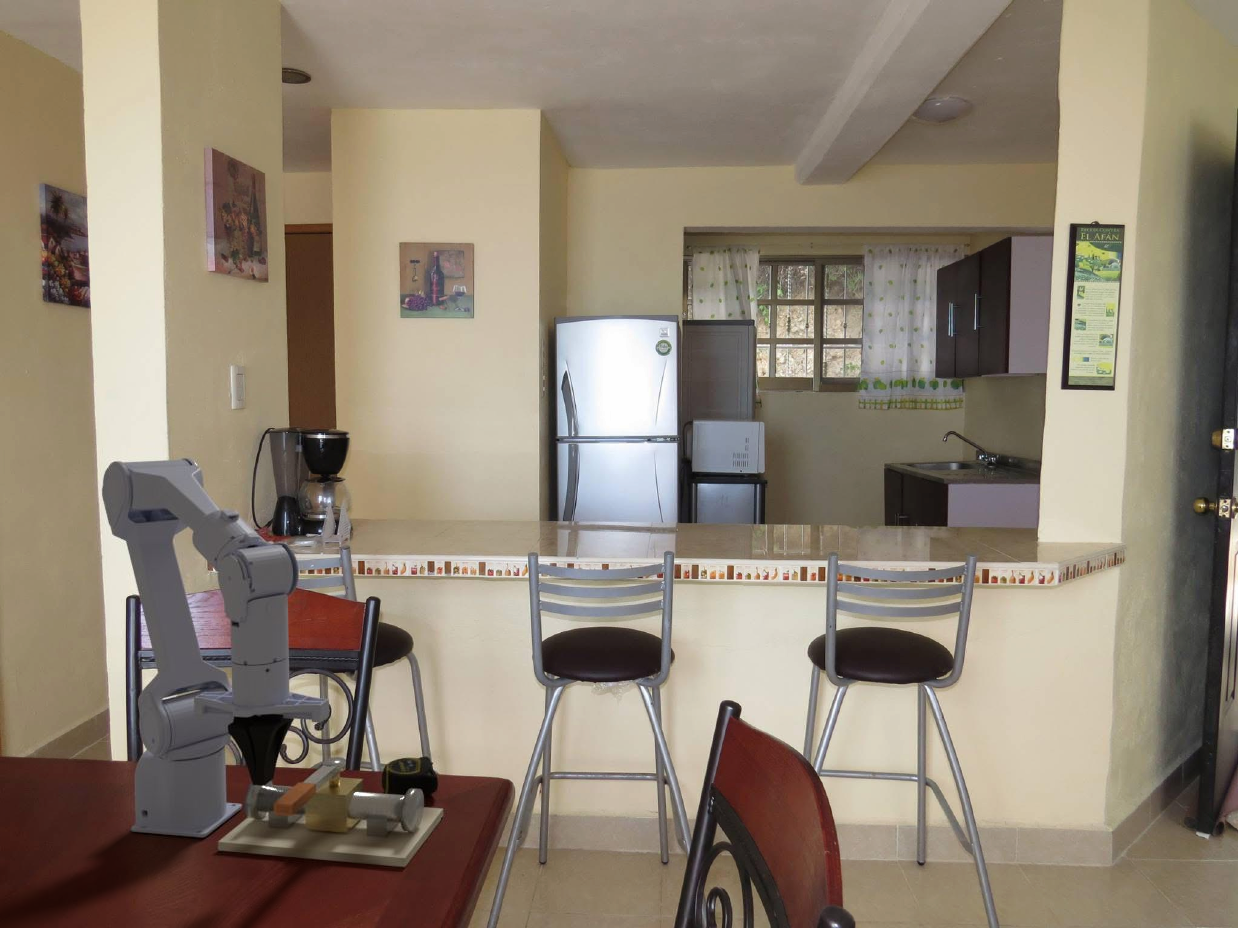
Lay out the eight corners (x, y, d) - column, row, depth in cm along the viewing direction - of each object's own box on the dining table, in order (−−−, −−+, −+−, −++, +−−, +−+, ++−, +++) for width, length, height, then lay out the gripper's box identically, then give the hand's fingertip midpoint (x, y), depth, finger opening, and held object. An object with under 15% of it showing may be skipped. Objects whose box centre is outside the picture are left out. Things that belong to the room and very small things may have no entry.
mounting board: (218, 850, 101) (218, 841, 101) (274, 803, 113) (274, 795, 113) (405, 866, 97) (405, 857, 97) (443, 816, 109) (443, 808, 109)
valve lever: (329, 765, 106) (329, 755, 106) (348, 766, 105) (348, 756, 105) (272, 814, 93) (271, 802, 93) (293, 815, 93) (293, 804, 93)
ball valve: (244, 826, 104) (243, 773, 104) (266, 809, 109) (265, 758, 108) (409, 840, 101) (408, 786, 101) (424, 821, 106) (423, 769, 105)
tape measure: (439, 801, 114) (438, 772, 114) (383, 807, 112) (383, 778, 112) (433, 779, 120) (432, 752, 120) (380, 785, 118) (380, 757, 118)
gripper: (174, 665, 93) (178, 792, 94) (305, 672, 91) (307, 802, 92) (214, 647, 100) (218, 765, 101) (337, 653, 98) (339, 774, 99)
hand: (263, 781), depth 97 cm, fingers closed
